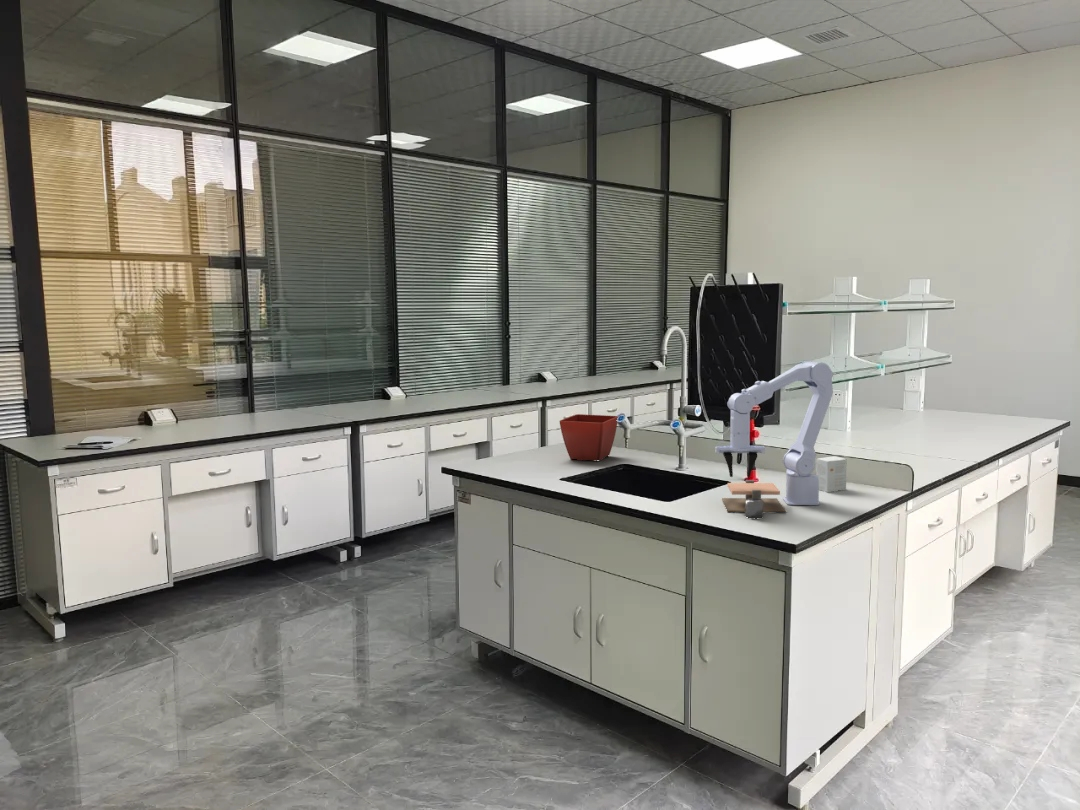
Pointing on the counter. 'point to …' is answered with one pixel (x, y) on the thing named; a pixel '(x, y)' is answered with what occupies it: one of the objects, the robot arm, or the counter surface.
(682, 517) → the counter surface
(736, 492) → the tipping door
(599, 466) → the counter surface
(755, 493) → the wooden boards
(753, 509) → the block
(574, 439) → the plant pot
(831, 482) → the small box
